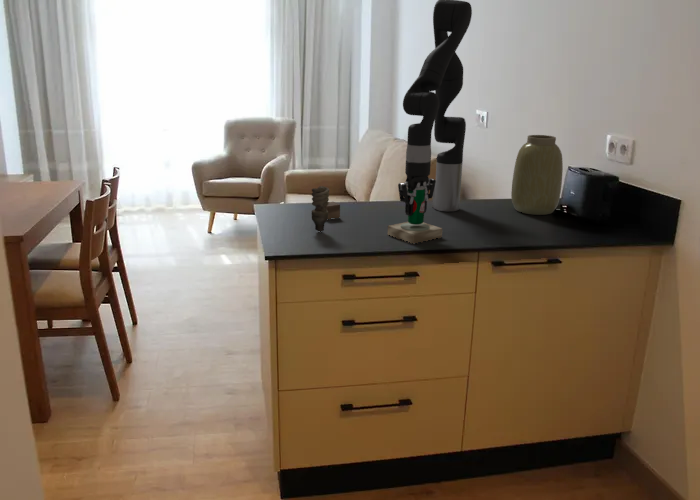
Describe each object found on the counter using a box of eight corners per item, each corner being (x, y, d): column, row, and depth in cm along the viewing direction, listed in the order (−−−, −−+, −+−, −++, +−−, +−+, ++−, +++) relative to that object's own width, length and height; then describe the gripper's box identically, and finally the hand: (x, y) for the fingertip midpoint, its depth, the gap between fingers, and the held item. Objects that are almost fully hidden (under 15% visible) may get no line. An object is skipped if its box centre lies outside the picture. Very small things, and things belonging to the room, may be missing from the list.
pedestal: (387, 234, 197) (387, 225, 196) (415, 228, 204) (415, 219, 203) (413, 244, 188) (414, 234, 187) (441, 237, 195) (442, 227, 194)
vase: (520, 202, 241) (527, 132, 233) (564, 209, 232) (573, 136, 223) (502, 211, 228) (509, 136, 220) (548, 219, 218) (557, 141, 210)
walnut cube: (327, 206, 211) (327, 220, 213) (340, 204, 214) (339, 218, 215) (320, 203, 215) (320, 217, 217) (332, 201, 218) (332, 215, 219)
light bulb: (331, 231, 200) (332, 185, 195) (325, 236, 195) (325, 188, 190) (315, 229, 202) (315, 183, 197) (308, 234, 197) (308, 187, 192)
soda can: (422, 225, 192) (424, 187, 188) (406, 224, 193) (408, 186, 189) (424, 221, 197) (426, 183, 193) (408, 220, 198) (410, 182, 194)
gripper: (426, 155, 196) (424, 208, 201) (392, 159, 187) (390, 214, 193) (444, 158, 190) (440, 213, 195) (409, 163, 182) (406, 220, 187)
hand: (415, 213), depth 194 cm, fingers closed on soda can, 5 cm apart
